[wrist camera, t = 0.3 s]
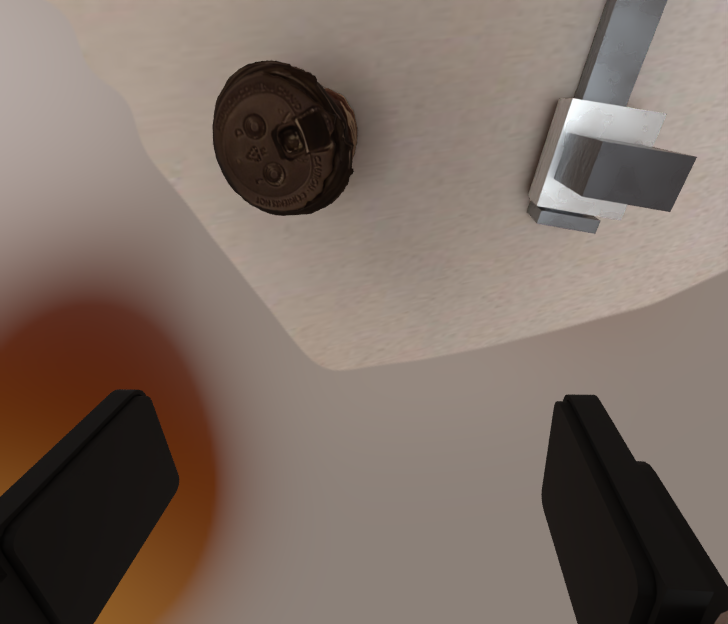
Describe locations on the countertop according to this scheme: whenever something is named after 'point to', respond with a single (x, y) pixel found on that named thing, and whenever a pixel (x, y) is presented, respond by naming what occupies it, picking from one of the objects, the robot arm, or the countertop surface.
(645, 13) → the rail
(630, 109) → the carriage
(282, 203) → the coffee cup
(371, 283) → the countertop surface
